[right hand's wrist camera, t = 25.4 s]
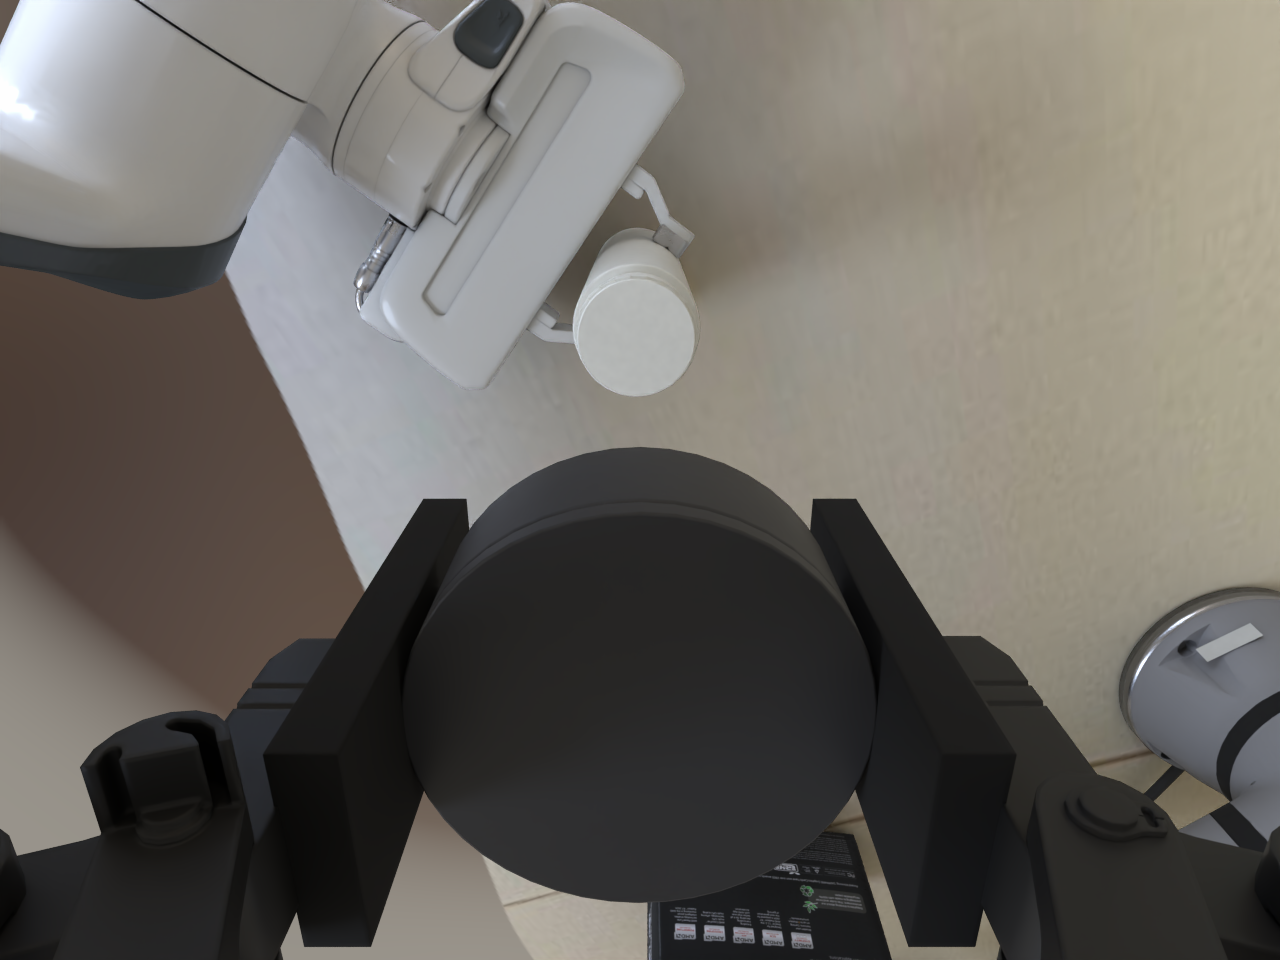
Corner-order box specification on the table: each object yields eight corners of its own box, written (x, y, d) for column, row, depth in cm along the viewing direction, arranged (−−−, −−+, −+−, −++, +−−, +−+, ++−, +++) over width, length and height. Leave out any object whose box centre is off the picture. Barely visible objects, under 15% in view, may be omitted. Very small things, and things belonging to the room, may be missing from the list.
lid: (920, 600, 12) (979, 695, 10) (670, 841, 14) (675, 965, 12) (599, 359, 11) (589, 409, 9) (367, 659, 13) (312, 763, 11)
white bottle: (697, 258, 50) (730, 317, 32) (651, 331, 52) (657, 428, 33) (623, 210, 49) (613, 243, 31) (578, 286, 51) (543, 361, 32)
